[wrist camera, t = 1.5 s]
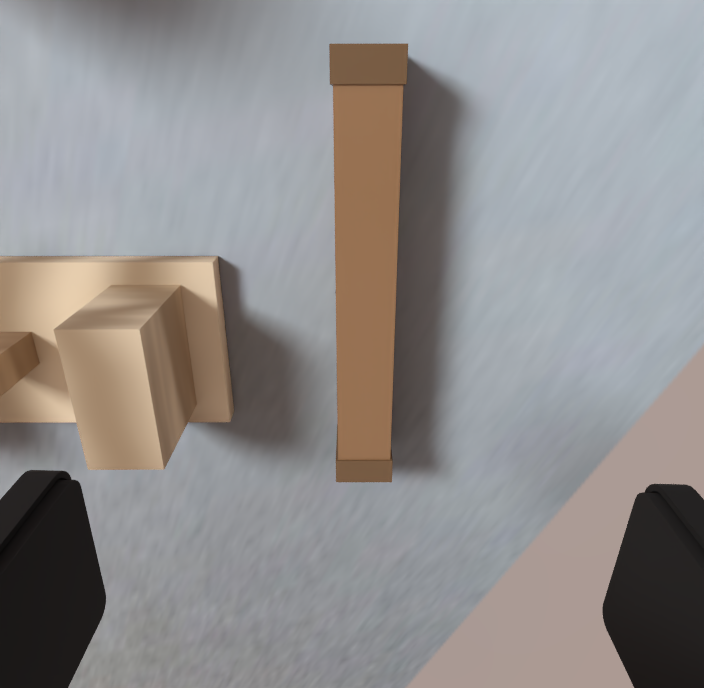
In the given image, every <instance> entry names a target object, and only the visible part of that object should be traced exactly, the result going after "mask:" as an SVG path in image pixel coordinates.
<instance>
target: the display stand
mask: <svg viewBox="0 0 704 688" xmlns="http://www.w3.org/2000/svg"><path fill="white" fill-rule="evenodd" d="M233 413H234V405H233V396H232V386H231V377H230V367H229V357H228V348H227V338H226V329H225V319H224V310H223V300H222V291H221V281H220V272H219V262H218V256H0V423H14V422H76V423H77V427H78V431H79V435H80V439H81V443H82V447H83V451H84V455H85V459H86V463H87V467H88V470H128V469H165V467H166V465H167V463H168V461H169V459H170V457H171V455H172V453H173V451H174V449H175V447H176V445H177V443H178V441H179V439H180V437H181V435H182V433H183V431H184V429H185V427H186V425H187V423H188V422H230V421H231V418H232V416H233Z"/></svg>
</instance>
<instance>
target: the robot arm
mask: <svg viewBox="0 0 704 688" xmlns="http://www.w3.org/2000/svg"><path fill="white" fill-rule="evenodd" d="M105 604H106V594H105V589H104V585H103V580H102V576H101V572H100V567H99V563H98V559H97V554H96V550H95V546H94V541H93V537H92V532H91V528H90V524H89V519H88V515H87V511H86V506H85V502H84V498H83V493H82V489H81V486H80V483H79V482H78V481H76V480H71V477H70V475H69V474H68V473H67V472H65V471H45V470H30V471H27V472H25V473H24V474H23V475H22V476H21V477H20V478H19V479H18V480H17V481H16V483H15V484H14V485H13V486H12V487H11V488H10V489H9V490H8V492H7V493H6V494H5V495H4V496H3V497H2V498H1V500H0V688H68V686H69V684H70V682H71V680H72V678H73V676H74V674H75V672H76V670H77V668H78V666H79V664H80V662H81V660H82V658H83V656H84V653H85V651H86V649H87V647H88V645H89V643H90V641H91V639H92V637H93V635H94V633H95V631H96V629H97V627H98V625H99V623H100V621H101V618H102V616H103V613H104V609H105ZM603 619H604V623H605V626H606V629H607V631H608V633H609V635H610V637H611V640H612V642H613V644H614V646H615V648H616V650H617V652H618V654H619V656H620V659H621V661H622V663H623V665H624V667H625V669H626V671H627V673H628V675H629V677H630V679H631V682H632V684H633V686H634V688H704V500H703V498H702V497H701V496H700V495H699V494H698V493H697V491H696V490H694V489H693V488H692V487H691V486H688V485H676V484H675V485H674V484H673V485H672V484H652V485H650V486H648V488H647V489H646V490H645V493H639V494H638V495H637V497H636V499H635V502H634V505H633V509H632V512H631V515H630V518H629V521H628V524H627V528H626V531H625V534H624V538H623V541H622V544H621V547H620V551H619V554H618V557H617V561H616V564H615V567H614V570H613V574H612V577H611V580H610V583H609V587H608V590H607V593H606V597H605V600H604V603H603Z"/></svg>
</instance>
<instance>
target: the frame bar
mask: <svg viewBox="0 0 704 688" xmlns="http://www.w3.org/2000/svg"><path fill="white" fill-rule="evenodd" d="M407 58H408V44H330V84H331V85H332V86H333V111H334V186H335V261H336V335H337V410H338V424H337V448H336V482H392V463H393V460H392V452H391V424H392V395H393V366H394V338H395V309H396V280H397V252H398V223H399V194H400V166H401V137H402V108H403V85H405V84H407Z"/></svg>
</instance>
